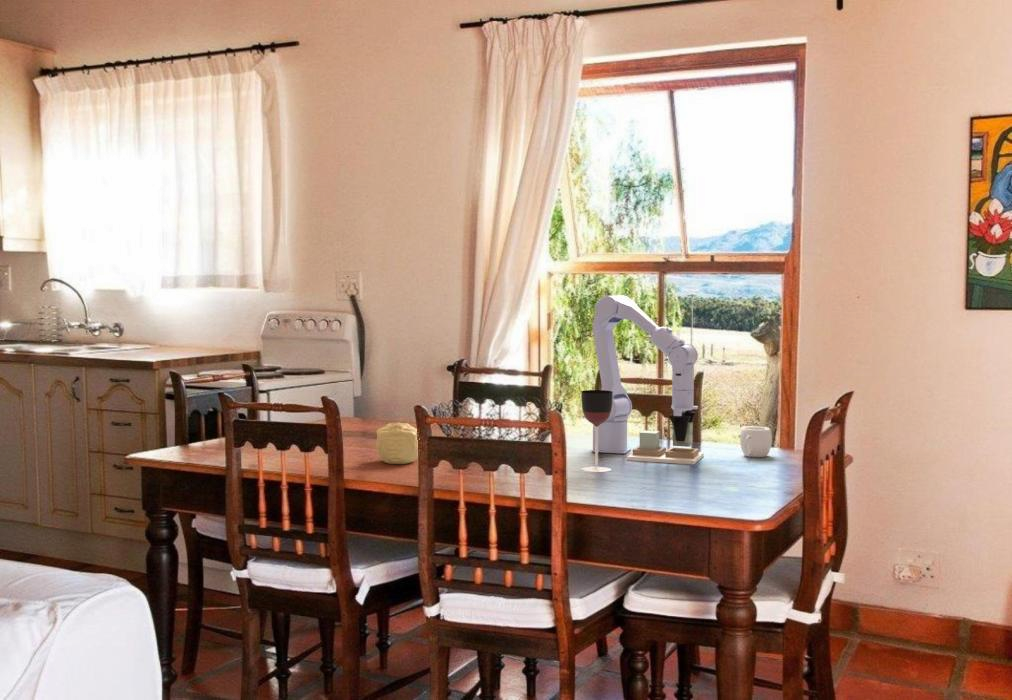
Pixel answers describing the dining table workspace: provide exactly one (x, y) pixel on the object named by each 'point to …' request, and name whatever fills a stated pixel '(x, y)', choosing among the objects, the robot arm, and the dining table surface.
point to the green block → (688, 438)
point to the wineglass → (596, 416)
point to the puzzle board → (662, 451)
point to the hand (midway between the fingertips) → (682, 439)
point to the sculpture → (397, 443)
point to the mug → (755, 441)
